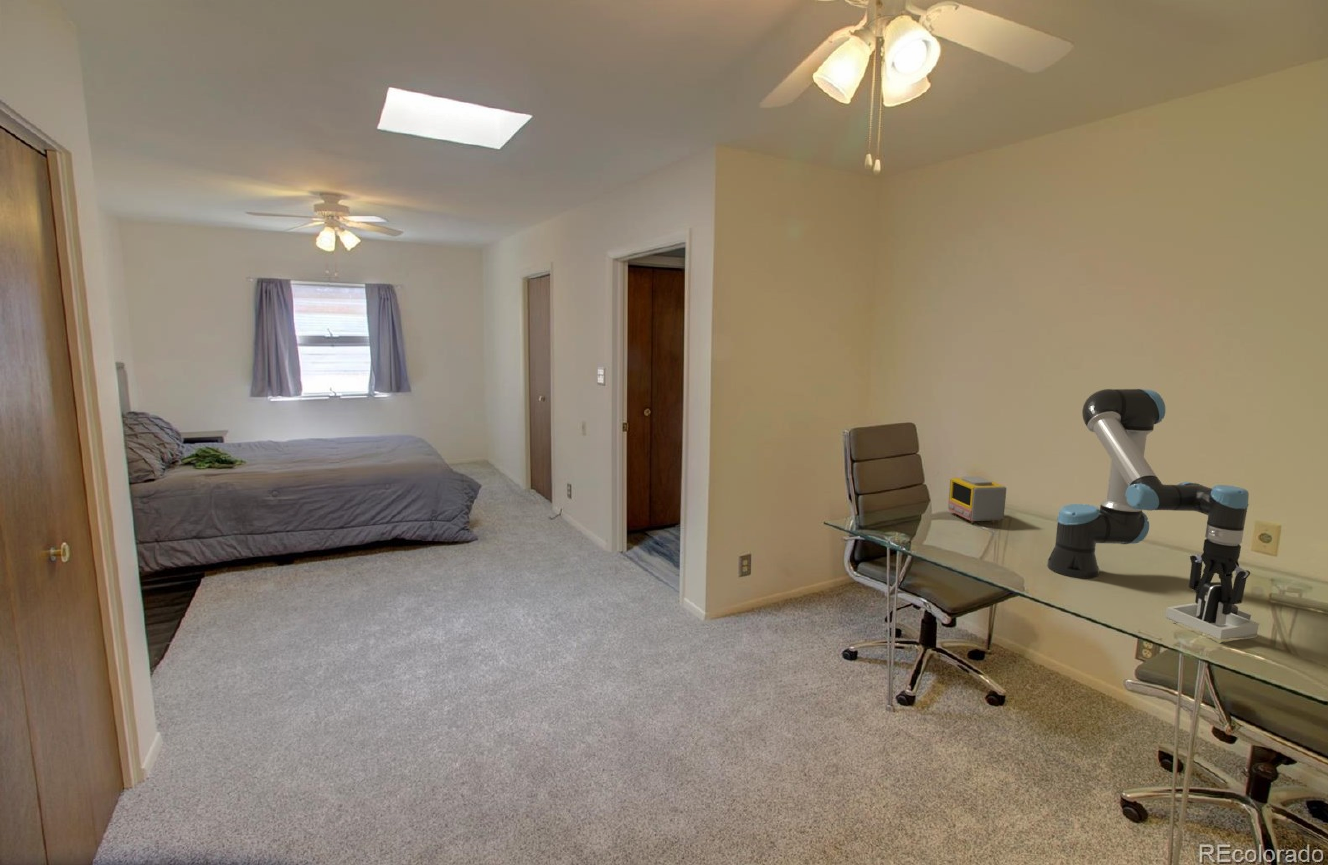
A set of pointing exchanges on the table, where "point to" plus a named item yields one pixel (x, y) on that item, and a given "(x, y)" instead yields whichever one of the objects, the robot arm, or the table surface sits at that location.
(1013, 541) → the table surface
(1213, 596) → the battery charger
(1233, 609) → the speaker
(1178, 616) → the tray
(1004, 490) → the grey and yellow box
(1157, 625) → the table surface
